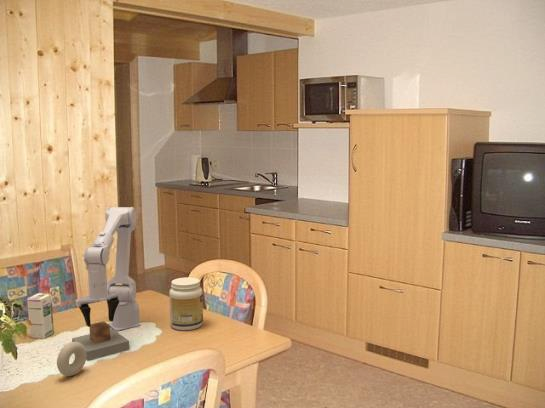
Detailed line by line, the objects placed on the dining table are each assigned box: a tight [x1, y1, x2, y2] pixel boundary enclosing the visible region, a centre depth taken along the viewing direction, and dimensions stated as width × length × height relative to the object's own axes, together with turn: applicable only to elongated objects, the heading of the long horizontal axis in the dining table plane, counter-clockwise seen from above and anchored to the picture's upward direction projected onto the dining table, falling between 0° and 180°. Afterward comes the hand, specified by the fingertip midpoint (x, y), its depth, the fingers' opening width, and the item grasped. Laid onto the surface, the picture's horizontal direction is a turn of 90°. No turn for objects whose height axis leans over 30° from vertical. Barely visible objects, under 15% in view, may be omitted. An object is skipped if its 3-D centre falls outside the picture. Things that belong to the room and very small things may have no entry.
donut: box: [56, 341, 87, 377], centre depth 163 cm, size 10×3×10 cm, turn 152°
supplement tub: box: [168, 276, 204, 331], centre depth 203 cm, size 12×12×17 cm
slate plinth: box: [71, 328, 131, 362], centre depth 183 cm, size 14×14×3 cm
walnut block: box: [88, 321, 111, 343], centre depth 183 cm, size 5×5×5 cm
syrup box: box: [26, 292, 55, 340], centre depth 194 cm, size 6×6×14 cm
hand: (99, 323), depth 182 cm, fingers open, 7 cm apart
